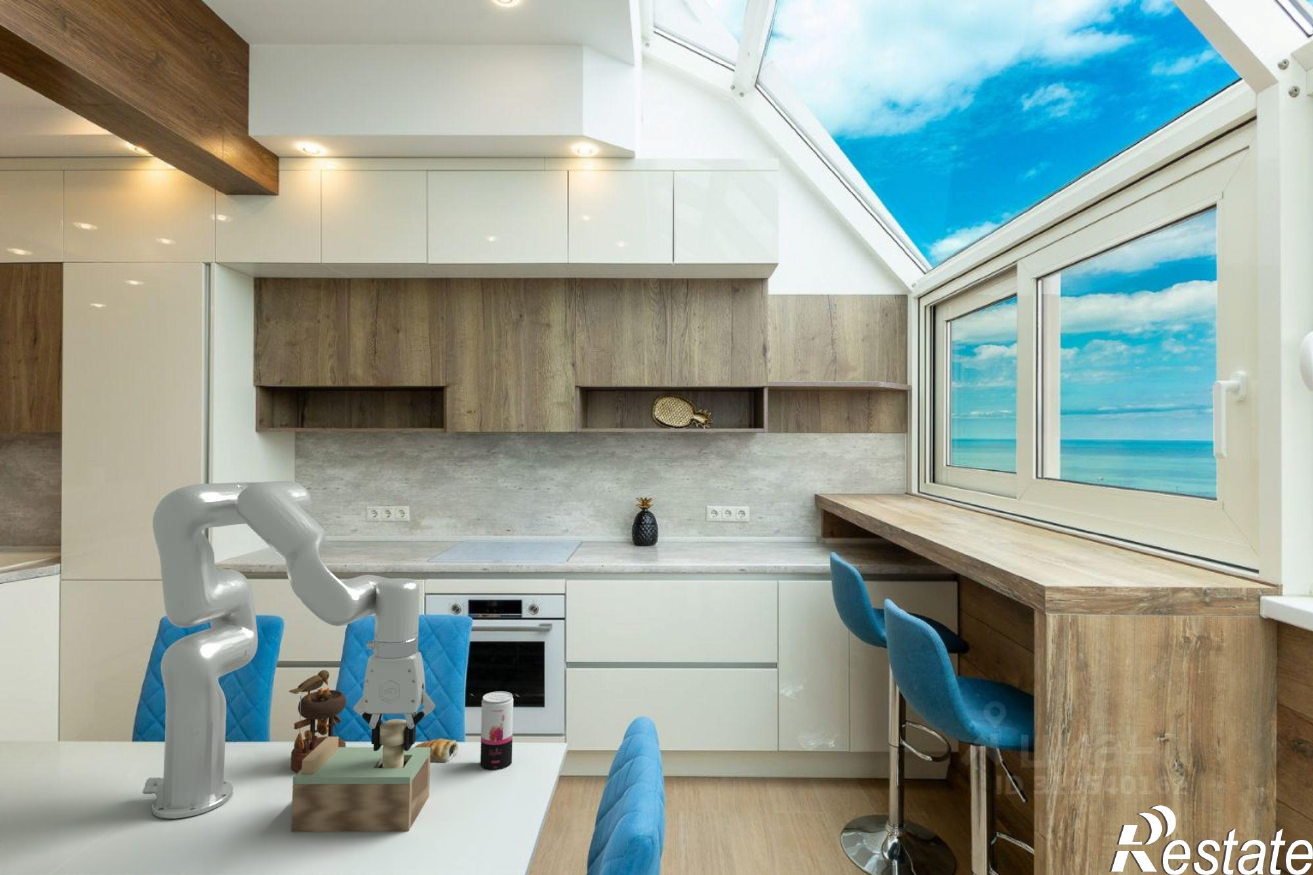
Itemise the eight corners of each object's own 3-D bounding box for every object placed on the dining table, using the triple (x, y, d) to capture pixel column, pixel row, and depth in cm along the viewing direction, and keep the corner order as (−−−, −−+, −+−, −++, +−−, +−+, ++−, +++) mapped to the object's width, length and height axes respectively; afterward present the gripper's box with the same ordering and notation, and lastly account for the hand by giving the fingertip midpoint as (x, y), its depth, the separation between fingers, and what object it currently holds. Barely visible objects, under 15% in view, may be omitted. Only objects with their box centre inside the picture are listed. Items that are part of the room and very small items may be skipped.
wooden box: (291, 837, 116) (292, 784, 116) (322, 801, 128) (324, 753, 128) (408, 836, 117) (409, 784, 117) (429, 801, 129) (430, 753, 129)
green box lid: (292, 784, 116) (293, 763, 116) (324, 753, 128) (324, 734, 128) (409, 783, 117) (410, 763, 117) (430, 753, 129) (430, 734, 129)
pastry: (406, 761, 146) (407, 743, 146) (422, 748, 153) (423, 731, 153) (446, 765, 144) (447, 747, 144) (461, 752, 151) (461, 735, 151)
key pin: (373, 819, 120) (375, 729, 121) (383, 805, 125) (385, 718, 125) (400, 819, 120) (403, 729, 121) (409, 805, 125) (411, 718, 126)
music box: (320, 780, 136) (316, 680, 137) (273, 779, 138) (269, 680, 139) (366, 748, 151) (362, 658, 152) (323, 747, 153) (319, 659, 154)
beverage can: (500, 777, 139) (502, 703, 139) (473, 771, 141) (475, 699, 142) (517, 763, 145) (519, 693, 146) (491, 758, 147) (493, 689, 148)
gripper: (340, 653, 119) (337, 757, 119) (437, 653, 120) (434, 757, 120) (357, 641, 127) (354, 739, 126) (448, 642, 128) (445, 739, 127)
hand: (393, 746), depth 123 cm, fingers closed on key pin, 4 cm apart
